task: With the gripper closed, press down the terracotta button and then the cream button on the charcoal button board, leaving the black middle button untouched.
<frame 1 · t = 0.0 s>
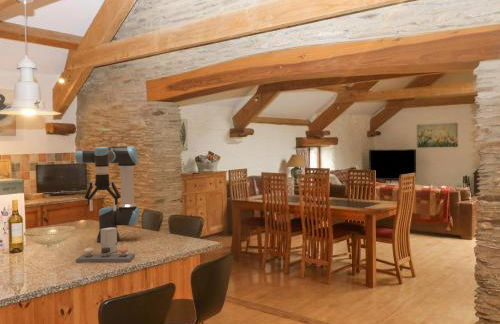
hand: (103, 210, 263), 28 cm above the kitchen island, fingers open, 13 cm apart
button board: (106, 259, 263), on the kitchen island
skincare box: (109, 252, 281), on the kitchen island
button black: (105, 252, 262), point 4 cm above the kitchen island, slide at 0.0 cm
button cream: (88, 252, 263), point 4 cm above the kitchen island, slide at 0.0 cm
button terracotta: (123, 252, 262), point 4 cm above the kitchen island, slide at 0.0 cm
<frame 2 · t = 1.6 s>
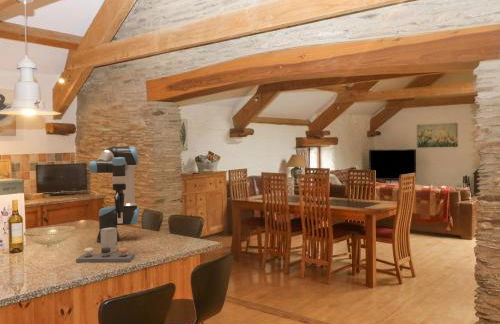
hand: (120, 223, 270), 20 cm above the kitchen island, fingers closed
nothing on the kitchen island moved.
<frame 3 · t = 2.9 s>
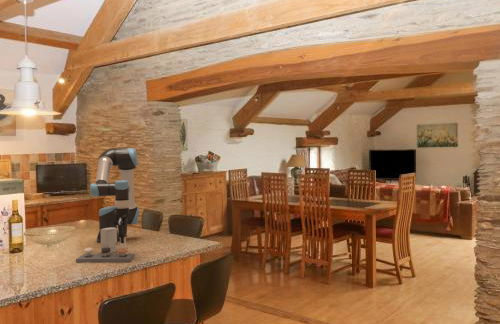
hand: (123, 248, 262), 6 cm above the kitchen island, fingers closed
button terracotta: (123, 253, 262), point 4 cm above the kitchen island, slide at -0.3 cm, touching gripper
everything else where it was.
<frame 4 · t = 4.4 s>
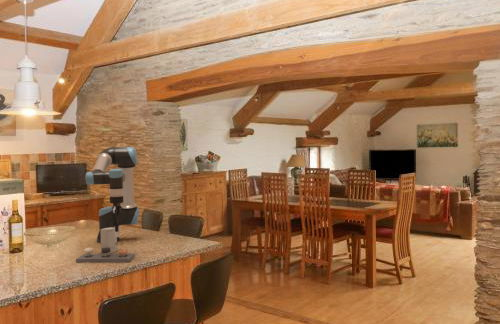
hand: (117, 236, 262), 13 cm above the kitchen island, fingers closed
button terracotta: (123, 254, 262), point 3 cm above the kitchen island, slide at -1.1 cm
everything else where it was.
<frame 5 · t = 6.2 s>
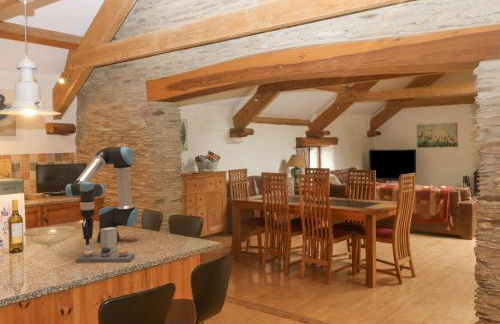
hand: (88, 250, 262), 6 cm above the kitchen island, fingers closed
button cream: (88, 254, 263), point 3 cm above the kitchen island, slide at -1.1 cm, touching gripper
everything else where it was.
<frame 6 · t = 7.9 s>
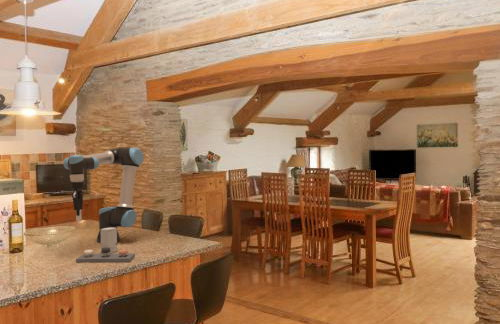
hand: (79, 220, 272), 21 cm above the kitchen island, fingers closed
button cream: (88, 254, 263), point 3 cm above the kitchen island, slide at -1.1 cm
everything else where it was.
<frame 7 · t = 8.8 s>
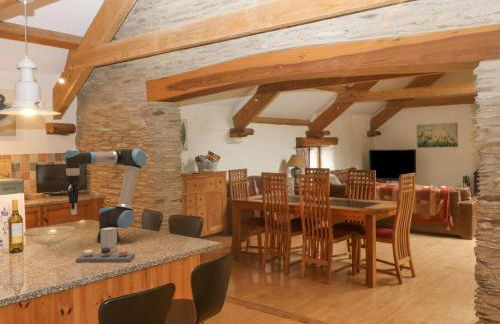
hand: (74, 214, 275), 24 cm above the kitchen island, fingers closed
nothing on the kitchen island moved.
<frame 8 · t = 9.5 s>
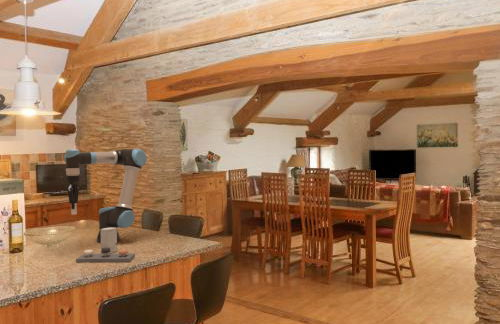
hand: (74, 214, 275), 24 cm above the kitchen island, fingers closed
nothing on the kitchen island moved.
at the end: button terracotta slide at -1.1 cm; button cream slide at -1.1 cm; button black slide at 0.0 cm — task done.
